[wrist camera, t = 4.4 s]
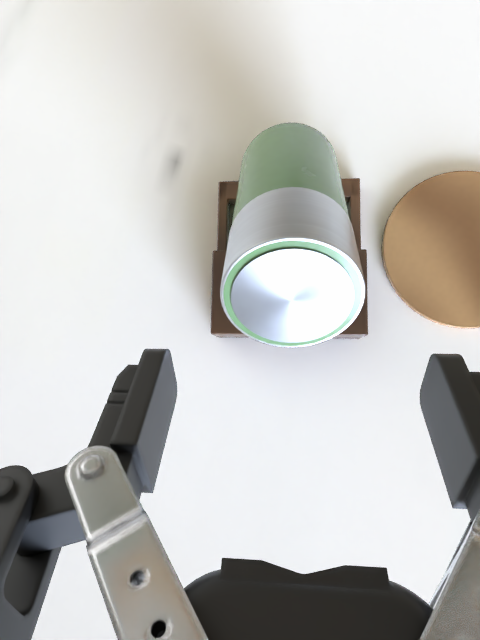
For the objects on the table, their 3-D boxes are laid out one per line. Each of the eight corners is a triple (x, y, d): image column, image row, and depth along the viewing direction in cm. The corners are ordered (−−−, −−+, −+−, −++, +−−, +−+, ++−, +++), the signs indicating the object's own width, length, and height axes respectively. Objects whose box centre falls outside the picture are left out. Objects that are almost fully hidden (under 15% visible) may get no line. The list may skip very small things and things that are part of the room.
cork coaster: (478, 361, 26) (481, 361, 26) (349, 259, 28) (350, 258, 27) (582, 238, 27) (586, 236, 26) (448, 143, 28) (451, 140, 28)
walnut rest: (359, 338, 27) (368, 335, 24) (217, 337, 28) (210, 333, 25) (356, 184, 28) (365, 164, 26) (220, 187, 29) (214, 168, 26)
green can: (333, 344, 28) (376, 352, 15) (241, 343, 28) (211, 349, 16) (333, 151, 28) (376, 6, 16) (243, 154, 29) (215, 16, 16)
